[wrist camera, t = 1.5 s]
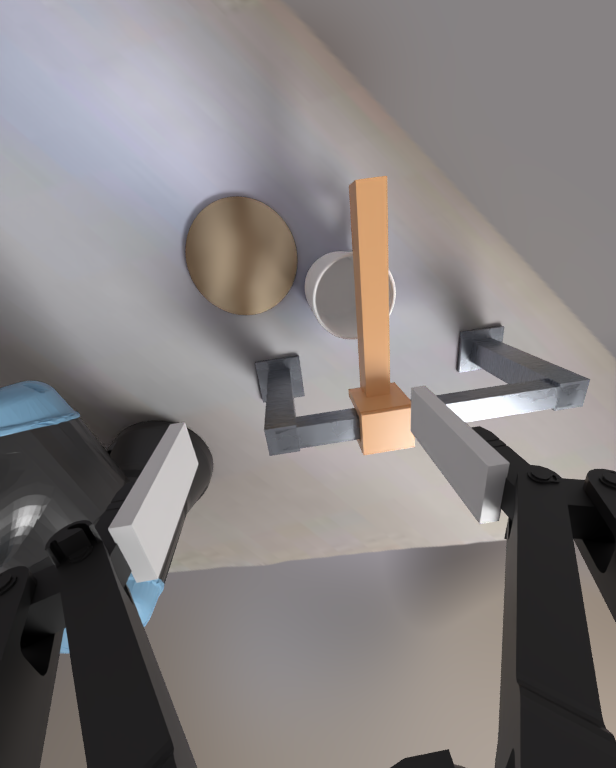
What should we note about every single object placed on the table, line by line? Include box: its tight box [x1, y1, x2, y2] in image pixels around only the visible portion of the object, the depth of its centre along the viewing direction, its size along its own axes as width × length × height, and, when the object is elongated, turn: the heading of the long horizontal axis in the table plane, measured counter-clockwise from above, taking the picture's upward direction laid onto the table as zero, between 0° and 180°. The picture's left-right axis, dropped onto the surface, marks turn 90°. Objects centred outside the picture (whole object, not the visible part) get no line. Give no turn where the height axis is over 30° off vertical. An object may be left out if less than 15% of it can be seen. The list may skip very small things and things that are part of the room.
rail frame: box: [255, 326, 590, 456], centre depth 37 cm, size 35×6×16 cm, turn 97°
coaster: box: [185, 196, 297, 315], centre depth 37 cm, size 13×13×1 cm
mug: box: [305, 250, 396, 339], centre depth 34 cm, size 12×8×10 cm
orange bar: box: [348, 176, 415, 455], centre depth 28 cm, size 5×23×6 cm, turn 7°
